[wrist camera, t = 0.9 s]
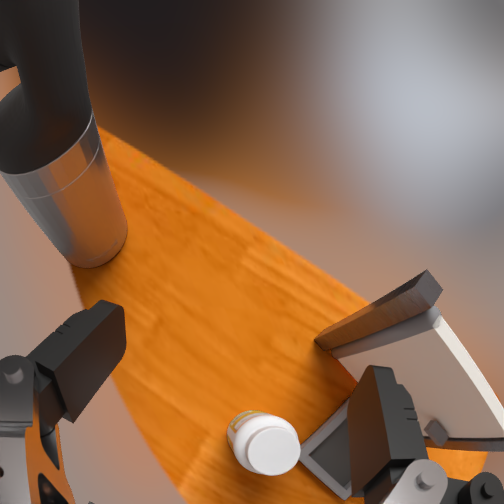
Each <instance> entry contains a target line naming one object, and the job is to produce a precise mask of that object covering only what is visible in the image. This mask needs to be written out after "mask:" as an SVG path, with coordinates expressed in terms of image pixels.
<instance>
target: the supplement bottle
mask: <svg viewBox="0 0 504 504" xmlns="http://www.w3.org/2000/svg"><path fill="white" fill-rule="evenodd" d="M227 439H228V443H229V445H230V447H231V449H232V451H233V453H234V455H235V457H236V459H237V460H238V461H239V463H240V464H241V465H242V466H243V467H244V468H246V469H247V470H249V471H251V472H254V473H258V474H264V475H270V476H274V475H280V474H283V473H285V472H287V471H289V470H290V469H292V468H293V467H294V466H295V464H296V463H297V461H298V459H299V457H300V452H301V448H300V443H299V441H298V436H297V433H296V431H295V429H294V428H293V427H292V426H291V424H289V423H288V422H287V421H285V420H284V419H282V418H280V417H277V416H274V415H271V414H268V413H265V412H262V411H258V410H250V411H246V412H243V413H241V414H239V415H237V416H236V417H235V418H234V419H233V420H232V421H231V423H230V424H229V427H228V430H227Z"/></svg>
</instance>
